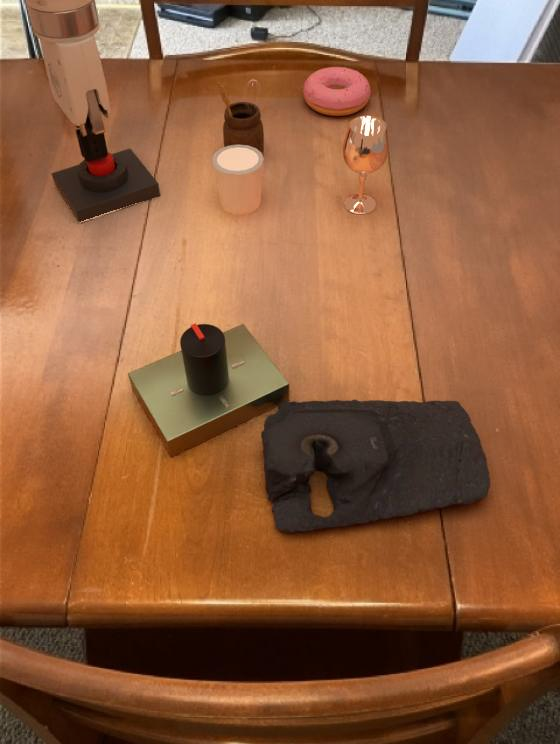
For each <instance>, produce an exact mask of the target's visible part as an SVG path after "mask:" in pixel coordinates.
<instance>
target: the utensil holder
mask: <svg viewBox="0 0 560 744" xmlns="http://www.w3.org/2000/svg"><path fill="white" fill-rule="evenodd" d="M216 82H217V86H218V90H219V93H220V96H221V100H222V102H223V103H224V105H225V109H224V112H223V113H224V115H223V118H224V122H223V125H222V137H223V148H224V147H227V146H231V145H248V146H251V147H254V148H256V149H257V150H259V151H260V152H261V153H262V155H263V156H264V149H265V139H264V135H265V134H264V123H263V121H262V120H261V118H262V117H261V116H262V115H261V109H260V108H259V107H258V105H257V103H255V104H254V103H253V100H254V99H252V97H250V99H249V98H248V95H249V92H246V90H248V88H249V87H250V86H249V85H250V83H251V82H252V85H251V87H253V89H255V86H256V85H259V87H258V86H256V88H257V91H256V94H259V95H257V98H256V100H255V102H260V100H261V98H260V96H261V95H262V94H261V93H262V91H261V88H262V86H261V84H260V82H259V80H257V79H255V78H251V79H248V82H247V84H244V87H245V89H243V90H244V91H243V94H244V98H246V99H247V101H246V99H243V100H244V101H236V102H233V103H231V102H230V100H229V96H228V94H227V91H226V89H225V86H224V85H222V83H220V82H219V81H216ZM254 83H255V84H254ZM253 89H251V91H250V93H252V92H253ZM254 95H255V92H253V94H252V96H254ZM251 99H252V101H251ZM250 101H251V102H250Z"/></svg>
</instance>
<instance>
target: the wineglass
mask: <svg viewBox="0 0 560 744" xmlns="http://www.w3.org/2000/svg"><path fill="white" fill-rule="evenodd" d="M344 136H345V138H344V139H343V147H342V155H343V160H344V162H345V164H346V165H347V167H348V168H349V169H350V170H351V171H353V172H355V173H358V174H359V175H358V181H359V192H358V193H354V194H351V195H348V196H347V197H346V198H345V199H344V201H343V206H344V208H345V210H347V211H348V212H350V213H352V214H355V215H367V214H370V213H372V212H373V211H374V210H375V209H376V207H377V203H376V200H375V199H374V198H373V197H371V196H370V195H368V194H365V193H364V185H365V182H366V180H367V174H372V173H375V172H377V171H378V170H380V169H381V168H383V166H384V164H385V163H386V160H387V157H388V153H389V134H388V126H387V123H386V122H385V121H384V120H383V119H381V118H380V117H377V116H373V115H361V116H356V117H354V118H353V119H352V120H350V122H349V125H348V126H347V129H346V133H345V135H344Z"/></svg>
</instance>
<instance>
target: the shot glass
mask: <svg viewBox="0 0 560 744" xmlns="http://www.w3.org/2000/svg"><path fill="white" fill-rule="evenodd" d="M264 161H265V158H264V154H263V155H262V153H261V152H260V151H259V150H257V149H256V148H254V147H251V146H248V145H231V146H227V147H224V146H223V147H222V148H219V149H218V150H217V151H216V152H215V153H214V154H213V156H212V158H211V163H212V167H213V173H214V178H215V183H216V188H217V192H218V197H219V203H220V207H221V208H222V209H223V210H224V211H225V212H226V213H229V214H232V215H238V216H239V215H240V216H241V215H247V214H250V213H252V212H255V211H256V210H257V209H258V208H260V205H261V201H262V189H263V177H264V176H263V174H264V165H265V164H264V163H265V162H264Z"/></svg>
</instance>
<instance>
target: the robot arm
mask: <svg viewBox="0 0 560 744" xmlns="http://www.w3.org/2000/svg"><path fill="white" fill-rule="evenodd" d="M25 4H26V8H27V11H28V17H29V20H30V22H31V27H32V31H33V34H34V35H35V37H36V38H38V39H39V42H40V47H41V52H42V57H43V62H44V66H45V71H46V72H45V73H46V76H47V81H48V85H49V89H50V90H49V91H50V93H51V95H52V97H53V99H54V100H55V102H56V104H57V105H58V107H59V108H60V110H61V111H62V112H63V114H64V115H65V116H66V117H67V119H68V120H69V121H70V122H71V123H72V124H73V125H74V127H75V128H76V129H75V135H76V138H77V142H78V146H79V150H80V154H81V156H82V158H83V159H84V160H86V162H90V161H93V160H97V159H100V158H104V157H107V156H108V152H109V151H108V146H107V141H106V136H105V133H106V129H105V124H104V121H103V117H102V115H103V116H104V117H105V118H106V119H109V117H110V116H111V114H112V109H111V103H110V102H111V101H110V96H109V91H108V86H107V81H106V78H105V72H104V68H103V64H102V60H101V56H100V52H99V49H98V48H99V47H98V44H97V40H96V37H95V35H96V34H97V33H98V32H99V30H100V26H101V25H100V21H99V15H98V8H97V4H96V0H25Z"/></svg>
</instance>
